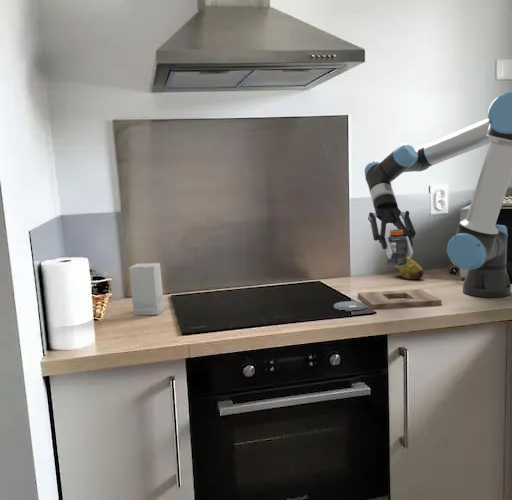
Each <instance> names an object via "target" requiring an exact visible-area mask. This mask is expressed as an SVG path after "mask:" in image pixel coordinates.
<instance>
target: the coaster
mask: <svg viewBox="0 0 512 500" xmlns="http://www.w3.org/2000/svg"><path fill="white" fill-rule="evenodd" d="M333 309H335V310H337V309H338V310H337V311H341V310H345V311H344V312H353V311H352V310H360V311H362V310H361V309H364V310H365V309H367V304H366V303H364V302H360V301H350V300H349V301H347V300H345V301H339V302H336V303H334V304H333Z"/></svg>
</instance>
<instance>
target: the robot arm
mask: <svg viewBox="0 0 512 500" xmlns="http://www.w3.org/2000/svg"><path fill="white" fill-rule="evenodd" d="M486 145H488V147H487V151H486V154H485V157H484V160H483V163H482V167H481V170H480V173H479V177H478V179H477V183H476V187H475V189H474V193H473V195H472V199H471V203H470V205H469V209H468V213H467V215H466V218H464V219H462V220H461V221H460V222H459V223H458V226H457V230H456V234H455V235H453V236H452V237H451V238H450V239H449V241H448V242H447V245H446V253H447V256H448V258H449V260H450V262H451V263H452V264H453V265H454V266H456V267H457V268H458V269H461V270H466V271H467V272H466V275H465V278H464V280H463V283H462V292H463V293H464V294H466V295H468V296H474V297H480V298H502V297H503V298H504V297H507V296H510V295H512V285H511V282H510V278H509V275H508V272H507V259H508V257H507V256H508V255H507V254H508V251H507V250H508V237H509V234H508V228H507V226H506V225H503V224H497V221H498V217H499V215H500V212H501V208H502V206H503V203H504V200H505V197H506V194H507V190H508V188H509V184H510V182H511V180H512V179H511V178H512V91H507V92H504V93H501V95H498V96H497V97H496V98H495V99H494V100H493V101H492V102H491V104H490V106H489V108H488V111H487V118H486V119H483V120H482V121H481V120H480V121H479V122H477V123H475V124H472V125H470V126H467V127H465V128H463V129H459V130H458V131H455V132H453V133H451V134H448V135H446V136H444V137H441V138H439V139H437V140H435V141H431V142H429V143H427V144H425V145H423V146H420V147H417V148H414V147H413V146H412V145H411V144H409V143H402V144H400V145H398V147H396V148H395V149H393V150H392V152H390V153H389V155H387V156H386V157H385V158H383V160H382V161H381V160H374V161H372V162H369V163H367V164H366V165H365V167H364V176H365V181H366V183H367V186H368V190H369V194H370V197H371V201H372V205H373V208H374V212H369V214H368V216H367V219H368V221H369V223H370V227H371V228H370V229H371V232H372V237H373V240H374V241H378V242H379V244H380V245H381V248H382V250H385V252H386V256H387V257H388V259H391V256H392V250H391V247H390V243H389V240H388V237H389V236H388V237H387V236H386V230H387V224H393V226H394V227H396V229H397V230H403V236H404V237H405V238H406V255H407V257H409V258H411V259H412V256H413V254H414V251H413V250H414V249H413V246H414V241H413V239H414V238H415V236H416V235H417V234H416V231H415V227H414V225H413V222H412V220H411V218H410V211H408V210H406V211H402V210H401V209H400V208H399V207H398V206H399V205H398V202H397V200H396V197H395V193H394V189H393V186H392V182H393V181H394V180H395V179H397V178H398V177H399V176H400V175H402V174H403V173H409V172H412V173H413V172H422V171H425V170H428V169H429V168H430V167H432V166H434V165H437V164H439V163H442V162H444V161H447V160H450V159H452V158H455V157H457V156H460V155H463V154H465V153H468V152H471V151H473V150H475V149H479V148H481V147H484V146H486ZM377 219H378V220H379V221H381V222H380V232H379V228H378V223H377ZM402 220H403V222H402ZM387 257H386V258H387Z"/></svg>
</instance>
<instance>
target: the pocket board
mask: <svg viewBox="0 0 512 500" xmlns="http://www.w3.org/2000/svg"><path fill="white" fill-rule="evenodd" d="M357 298H358V299H360V300H361V301H362V303H364V304H366V306H368V307H370V309H371V310H379V309H383V310H384V309H396V308H398V309H399V308H409V307H410V308H412V307H414V308H415V307H426V306H427V307H428V306H429V307H431V306H441V305H442V299H440V298H438V297H437V296H434V295H433V294H431V293H429V292H428V291H426V290H424V289H421V288H417V289H416V288H415V289H401V290H399V289H398V290H384V291H370V292H367V291H366V292H365V291H364V292H358V293H357ZM398 298H400V299H398ZM401 298H403V299H401Z"/></svg>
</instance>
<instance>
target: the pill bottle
mask: <svg viewBox="0 0 512 500" xmlns="http://www.w3.org/2000/svg"><path fill="white" fill-rule="evenodd" d="M389 234H390V235H389V236H388V240H389V243H390V247H391V250H392V256H391V259H388V257H386V258H387V259H386V261H387V266H391V267H394V266H405V265H406V256H407V251H406V238H405V237H404V236H403V230H398V229H390V231H389Z"/></svg>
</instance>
